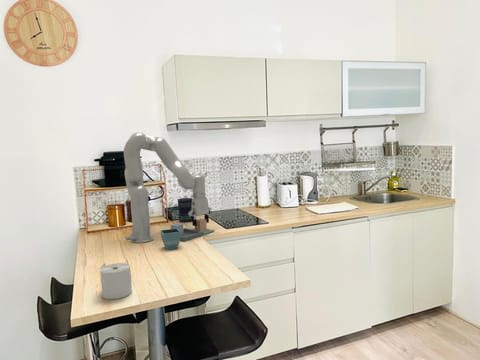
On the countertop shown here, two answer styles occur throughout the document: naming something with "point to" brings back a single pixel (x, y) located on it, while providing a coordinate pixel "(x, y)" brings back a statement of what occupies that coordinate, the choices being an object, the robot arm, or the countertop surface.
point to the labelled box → (201, 225)
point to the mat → (206, 231)
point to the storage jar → (184, 209)
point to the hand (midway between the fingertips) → (200, 224)
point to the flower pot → (170, 238)
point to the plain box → (179, 227)
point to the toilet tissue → (116, 280)
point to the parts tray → (190, 234)
